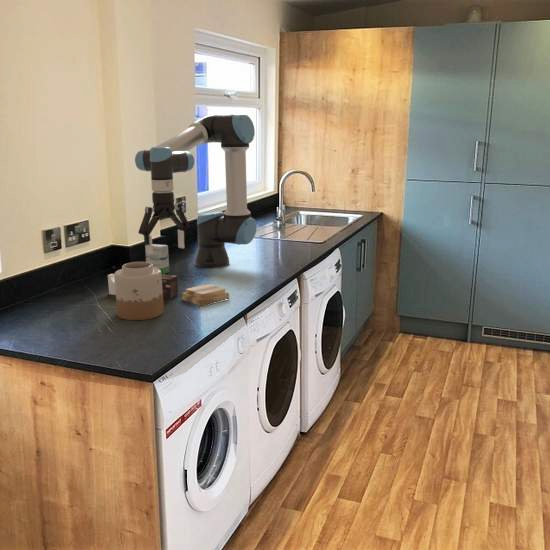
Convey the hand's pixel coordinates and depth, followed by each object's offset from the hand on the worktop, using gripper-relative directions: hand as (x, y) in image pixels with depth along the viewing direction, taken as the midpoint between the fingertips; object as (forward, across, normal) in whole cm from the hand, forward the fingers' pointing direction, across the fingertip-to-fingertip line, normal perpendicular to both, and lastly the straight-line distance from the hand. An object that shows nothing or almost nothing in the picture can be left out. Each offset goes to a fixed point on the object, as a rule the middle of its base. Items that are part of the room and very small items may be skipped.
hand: (165, 250), depth 220 cm
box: (+17, 0, 0) cm, 17 cm away
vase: (+17, -18, -11) cm, 27 cm away
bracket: (+18, -7, +17) cm, 25 cm away
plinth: (+17, +7, -14) cm, 23 cm away
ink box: (+17, +17, +32) cm, 40 cm away
